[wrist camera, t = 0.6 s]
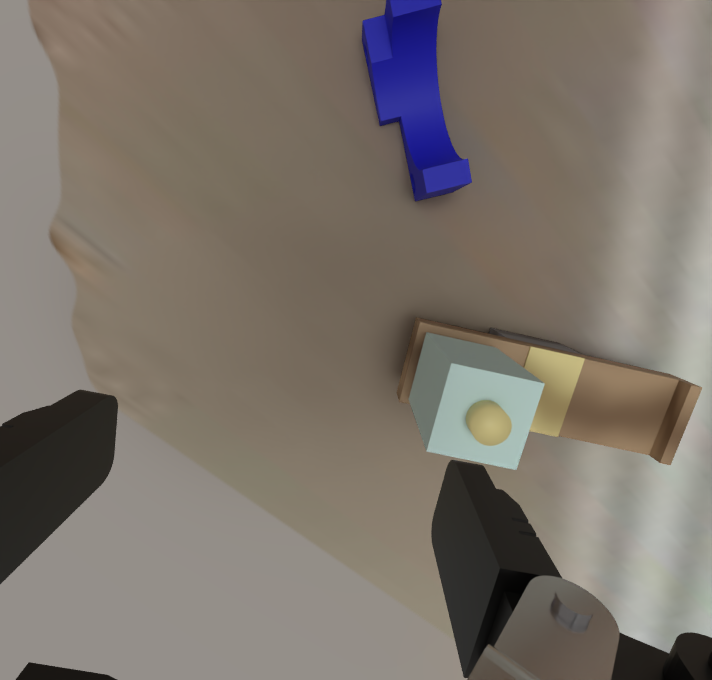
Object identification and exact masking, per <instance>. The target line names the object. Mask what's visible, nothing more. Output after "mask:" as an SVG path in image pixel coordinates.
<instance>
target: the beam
mask: <svg viewBox="0 0 712 680" xmlns="http://www.w3.org/2000/svg"><path fill="white" fill-rule="evenodd" d="M426 332H428V333H433V334H437V335H442V336H446V337H451V338H455V339H460V340H464V341H469V342H473V343H478V344H482V345H487V346H491V347H496V348H497V349H499V350H500V351H501V352H503V353H504V354H506V355H507V356H508V357H510V358H511V359H512V360H514V361H515V362H516V363H518V364H519V365H520V366H522V367H523V368H525V369H526V370H527V371H529V372H530V373H531V374H533V375H534V376H535V377H537V378H538V379H539V380H541V381H542V382H544V383H545V385H544V388H543V391H542V394H541V397H540V400H539V403H538V406H537V409H536V412H535V415H534V418H533V421H532V424H531V427H530V430H529V431H532V432H537V433H541V434H546V435H551V436H556V437H558V436H562V437H567V438H571V439H576V440H581V441H585V442H590V443H595V444H599V445H604V446H609V447H613V448H618V449H623V450H628V451H632V452H637V453H642V454H646V455H650V456H651V457H652V458H654V459H655V460H657V461H658V462H659V463H663V464H667V465H671V462H672V460H673V458H674V455H675V453H676V450H677V448H678V446H679V443H680V441H681V438H682V436H683V433H684V431H685V429H686V426H687V424H688V421H689V419H690V416H691V414H692V412H693V409H694V407H695V404H696V402H697V400H698V397H699V395H700V392H701V390H702V387H700V386H697V385H695V384H692V383H690V382H688V381H685V380H683V379H680V378H678V377H676V376H673V375H671V374H667V373H662V372H658V371H653V370H649V369H644V368H640V367H636V366H631V365H627V364H622V363H618V362H613V361H609V360H604V359H600V358H595V357H591V356H586V355H582V354H580V353H578V352H576V351H574V350H572V349H570V348H568V347H566V346H564V345H562V344H560V343H557V342H552V341H548V340H543V339H539V338H534V337H530V336H525V335H521V334H517V333H512V332H508V331H503V330H499V329H494V328H490V331H489V334H488V333H483V332H479V331H474V330H470V329H465V328H461V327H457V326H452V325H448V324H443V323H439V322H434V321H430V320H425V319H421V318H416V320H415V324H414V328H413V331H412V335H411V339H410V343H409V347H408V351H407V355H406V359H405V362H404V366H403V370H402V374H401V378H400V382H399V386H398V390H397V395H398V399H399V402H402V403H407V404H410V402H409V396H410V392H411V388H412V384H413V381H414V377H415V373H416V369H417V365H418V362H419V358H420V354H421V350H422V347H423V343H424V339H425V335H426Z"/></svg>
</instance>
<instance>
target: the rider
mask: <svg viewBox="0 0 712 680" xmlns="http://www.w3.org/2000/svg"><path fill="white" fill-rule="evenodd" d="M544 385H545V383H544V382H542V381H541V380H539V379H538V378H537V377H535V376H534V375H533V374H531V373H530V372H529V371H527V370H526V369H525V368H523V367H522V366H520V365H519V364H518V363H516V362H515V361H514V360H512V359H511V358H510V357H508V356H507V355H506V354H504V353H503V352H501V351H500V350H499V349H497V348H496V347H491V346H487V345H482V344H478V343H473V342H469V341H464V340H460V339H455V338H451V337H446V336H442V335H437V334H433V333H428V332H426V335H425V339H424V343H423V347H422V350H421V354H420V358H419V362H418V365H417V369H416V373H415V377H414V381H413V384H412V388H411V392H410V396H409V402H410V405H411V408H412V411H413V414H414V417H415V419H416V422H417V425H418V428H419V431H420V434H421V437H422V440H423V442H424V445H425V448H426V451H427V452H432V453H437V454H442V455H447V456H451V457H456V458H461V459H466V460H471V461H476V462H480V463H485V464H490V465H495V466H500V467H504V468H509V469H514V470H516V469H517V466H518V463H519V460H520V457H521V454H522V451H523V448H524V445H525V442H526V439H527V436H528V433H529V430H530V427H531V424H532V421H533V418H534V415H535V412H536V409H537V406H538V403H539V400H540V397H541V394H542V391H543V388H544Z"/></svg>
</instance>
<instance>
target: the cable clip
mask: <svg viewBox="0 0 712 680" xmlns="http://www.w3.org/2000/svg"><path fill="white" fill-rule="evenodd" d="M441 5H442V4H441V0H386V8H385V15H382V16H378V17H375V18H371V19H367V20H363V25H362V42H363V47H364V52H365V57H366V62H367V66H368V71H369V76H370V81H371V86H372V90H373V95H374V100H375V105H376V110H377V115H378V119H379V124H380V126H382V125H386V124H390V123H394V122H398V121H399V123H400V128H401V133H402V138H403V143H404V148H405V153H406V158H407V163H408V168H409V173H410V178H411V183H412V189H413V194H414V199H415V201H419V200H423V199H427V198H431V197H435V196H439V195H444V194H448V193H452V192H454V191H456V190H458V189H460V188H462V187H464V186H466V185H468V184H470V183H471V182H472V180H471V174H470V168H469V162H468V159H461V158H460V157H459V156H458V155H457V153H456V152H455V150H454V148H453V146H452V144H451V141H450V138H449V135H448V132H447V129H446V125H445V121H444V117H443V112H442V107H441V101H440V94H439V86H438V76H437V60H436V38H437V24H438V17H439V12H440V8H441Z"/></svg>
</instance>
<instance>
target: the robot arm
mask: <svg viewBox="0 0 712 680" xmlns="http://www.w3.org/2000/svg"><path fill="white" fill-rule="evenodd" d="M117 412H118V403H117V399H116V398H115V397H114V396H112V395H106V394H101V393H96V392H90V391H85V390H78V391H76V392H74V393H72V394H70V395H68V396H67V397H65V398H63V399H61V400H59V401H58V402H56V403H54V404H53V405H51V406H46V407H42V408H39V409H35V410H32V411H28V412H24V413H22V414H20V415H18V416H16V417H14V418H13V419H11V420H9V421H7V422H5V423H3V424H2V426H1V427H0V584H1V583H2V582H3V581H4V580H5V579H6V578H7V577H8V576H9V575H10V574H11V573H12V572H13V571H14V570H15V569H16V568H17V567H18V566H19V565H20V564H21V563H22V562H23V561H24V560H25V559H26V558H27V557H28V556H29V555H30V554H31V553H32V552H33V551H34V550H36V549H37V548H38V547H39V546H40V545H41V544H42V543H43V542H44V541H45V540H46V539H47V538H48V537H49V536H50V535H51V534H52V533H53V532H54V531H55V530H56V529H57V528H58V527H59V526H60V525H61V524H62V523H63V522H64V521H65V520H66V519H67V518H68V517H69V516H70V515H71V514H72V513H73V512H74V511H75V510H76V509H77V508H78V507H79V506H80V505H81V504H82V503H83V502H84V501H85V500H86V499H87V498H88V497H89V496H90V495H91V494H92V493H93V492H94V491H95V490H96V489H97V488H98V487H99V486H101V484H102V483H103V482H104V481H105V479H106V478H107V476H108V474H109V472H110V470H111V467H112V464H113V460H114V450H115V437H116V425H117ZM432 545H433V549H434V553H435V557H436V562H437V566H438V570H439V574H440V579H441V583H442V587H443V591H444V595H445V600H446V604H447V608H448V612H449V617H450V621H451V625H452V629H453V633H454V638H455V642H456V646H457V650H458V654H459V659H460V663H461V667H462V671H463V676H464V678H468V679H467V680H712V638H711V637H708V636H705V635H701V634H697V633H683V634H680V635H679V636H678V637H677V639H676V641H675V643H674V645H673V647H672V649H671V651H670V653H667V652H664V651H662V650H659V649H657V648H655V647H652V646H650V645H647V644H645V643H643V642H640V641H638V640H635V639H633V638H631V637H628V636H626V635H624V634H622V633H620V632H619V628H618V625H617V623H616V621H615V619H614V617H613V616H612V614H611V613H610V612H609V610H608V609H607V608H606V607H605V606H604V605H603V604H602V603H601V602H600V601H599V600H598V599H597V598H596V597H595V596H593V595H592V594H591V593H589V592H588V591H586V590H585V589H583V588H582V587H580V586H578V585H576V584H574V583H572V582H570V581H568V580H565V579H562V577H561V575H560V573H559V572H558V570H557V568H556V567H555V565H554V563H553V562H552V560H551V558H550V556H549V555H548V553H547V551H546V550H545V548H544V546H543V545H542V543H541V541H540V539H539V538H538V537H536V533H535V531H534V529H533V528H532V526H531V524H529V523H528V519H527V517H526V516H525V514H524V512H523V511H522V509H521V507H520V505H519V504H518V503H517V502H515V501H514V500H513V499H512V498H511V497H510V496H509V495H508V494H507V493H506V492H504V491H503V490H500V489H496V488H495V486H494V484H493V482H492V480H491V479H490V477H489V475H488V473H487V471H486V469H485V468H484V466H483V465H478V464H473V463H467V462H462V461H456V460H451V461H450V462H449V464H448V466H447V469H446V472H445V476H444V480H443V483H442V487H441V490H440V494H439V498H438V501H437V505H436V508H435V512H434V516H433V521H432ZM16 680H117V679H114V678H112V677H110V676H108V675H105V674H98V673H92V672H85V671H80V670H73V669H67V668H60V667H55V666H48V665H42V664H36V663H28V664H27V665H26V667H25V668H24V670H23V671H22V672H21V673H20V675H19V676H18V677H17V679H16Z"/></svg>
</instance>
